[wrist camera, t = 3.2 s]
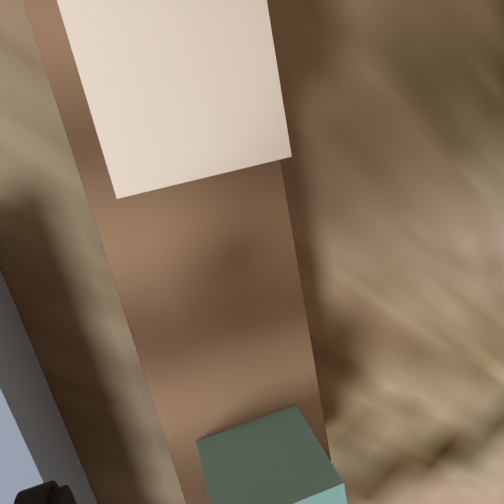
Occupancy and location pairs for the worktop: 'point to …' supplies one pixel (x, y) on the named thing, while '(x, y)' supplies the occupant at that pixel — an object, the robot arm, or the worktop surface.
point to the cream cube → (178, 87)
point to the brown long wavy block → (196, 282)
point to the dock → (31, 418)
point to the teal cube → (269, 463)
